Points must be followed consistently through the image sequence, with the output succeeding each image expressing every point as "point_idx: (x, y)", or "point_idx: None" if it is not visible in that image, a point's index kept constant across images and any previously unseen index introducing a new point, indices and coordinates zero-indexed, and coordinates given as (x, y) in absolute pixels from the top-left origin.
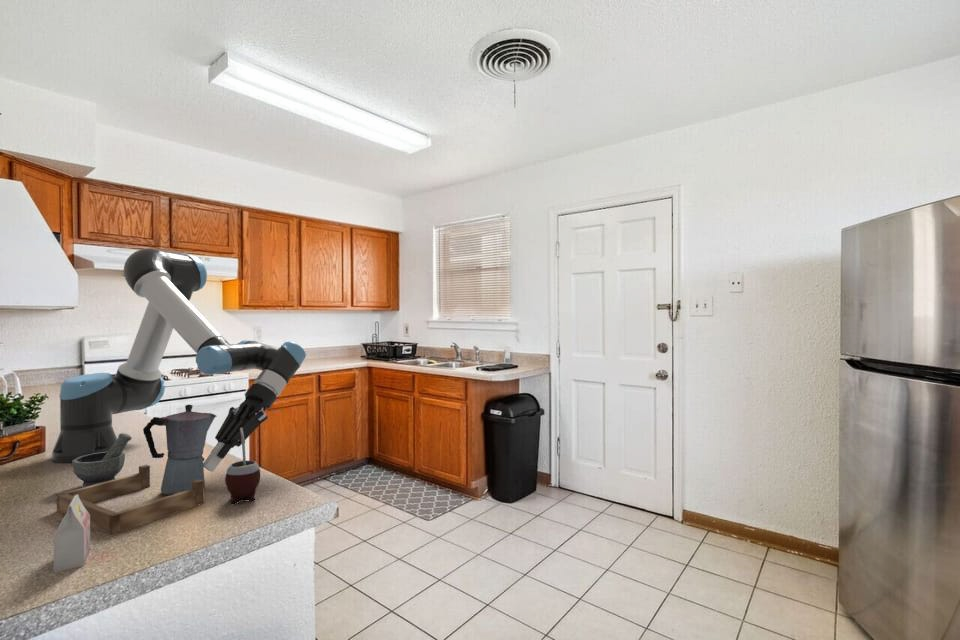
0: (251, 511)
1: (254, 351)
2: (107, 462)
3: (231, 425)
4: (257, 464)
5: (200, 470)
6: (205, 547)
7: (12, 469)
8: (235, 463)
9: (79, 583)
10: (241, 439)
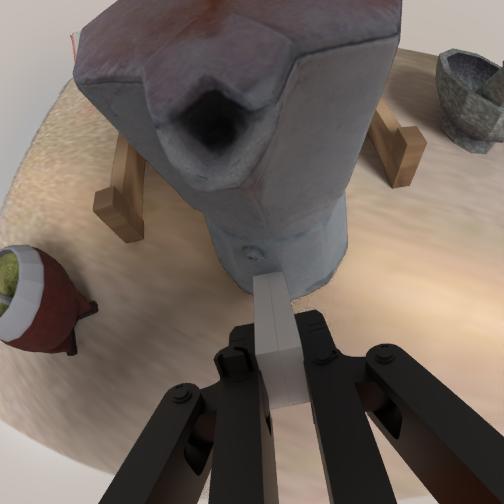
0: None
1: None
2: (445, 77)
3: (343, 475)
4: None
5: (220, 246)
6: (7, 193)
7: None
8: (20, 275)
9: (67, 99)
10: None
